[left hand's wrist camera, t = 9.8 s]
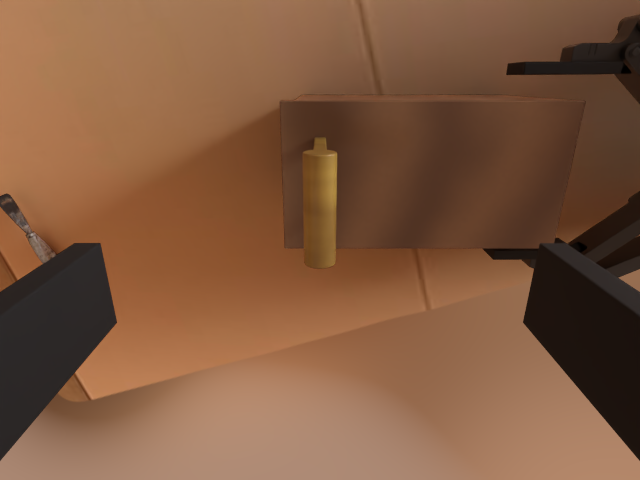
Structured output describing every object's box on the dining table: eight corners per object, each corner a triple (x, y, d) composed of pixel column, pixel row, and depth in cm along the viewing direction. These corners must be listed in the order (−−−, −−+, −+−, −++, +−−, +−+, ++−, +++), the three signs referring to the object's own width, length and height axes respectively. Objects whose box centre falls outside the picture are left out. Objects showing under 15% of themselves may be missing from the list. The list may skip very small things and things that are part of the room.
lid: (285, 243, 28) (272, 304, 20) (281, 100, 25) (263, 108, 17) (545, 243, 28) (630, 304, 20) (576, 100, 25) (692, 108, 17)
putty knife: (56, 266, 41) (46, 274, 39) (2, 196, 38) (-12, 201, 36) (65, 262, 40) (54, 270, 39) (10, 191, 38) (-3, 196, 36)
